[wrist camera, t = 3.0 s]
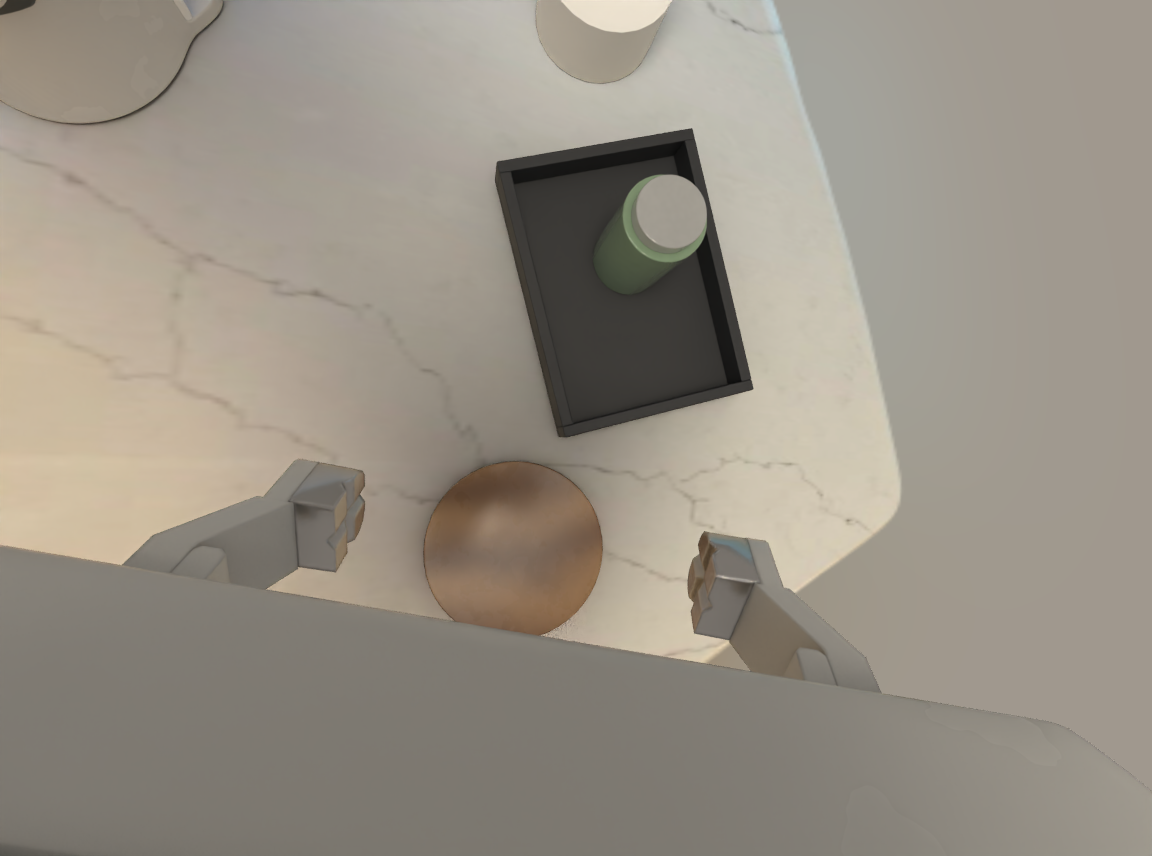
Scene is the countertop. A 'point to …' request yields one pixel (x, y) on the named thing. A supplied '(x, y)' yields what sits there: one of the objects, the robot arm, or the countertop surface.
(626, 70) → the base with upright slab
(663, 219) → the salt shaker
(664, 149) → the tray
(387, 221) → the countertop surface
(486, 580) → the coaster
